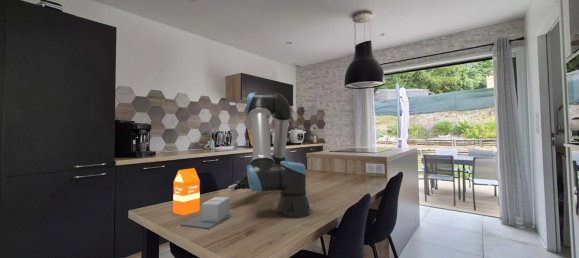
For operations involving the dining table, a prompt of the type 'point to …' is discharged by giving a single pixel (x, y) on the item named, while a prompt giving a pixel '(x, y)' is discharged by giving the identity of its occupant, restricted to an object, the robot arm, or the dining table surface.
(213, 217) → the supplement box
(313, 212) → the dining table surface
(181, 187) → the orange juice
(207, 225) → the mat
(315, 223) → the dining table surface
